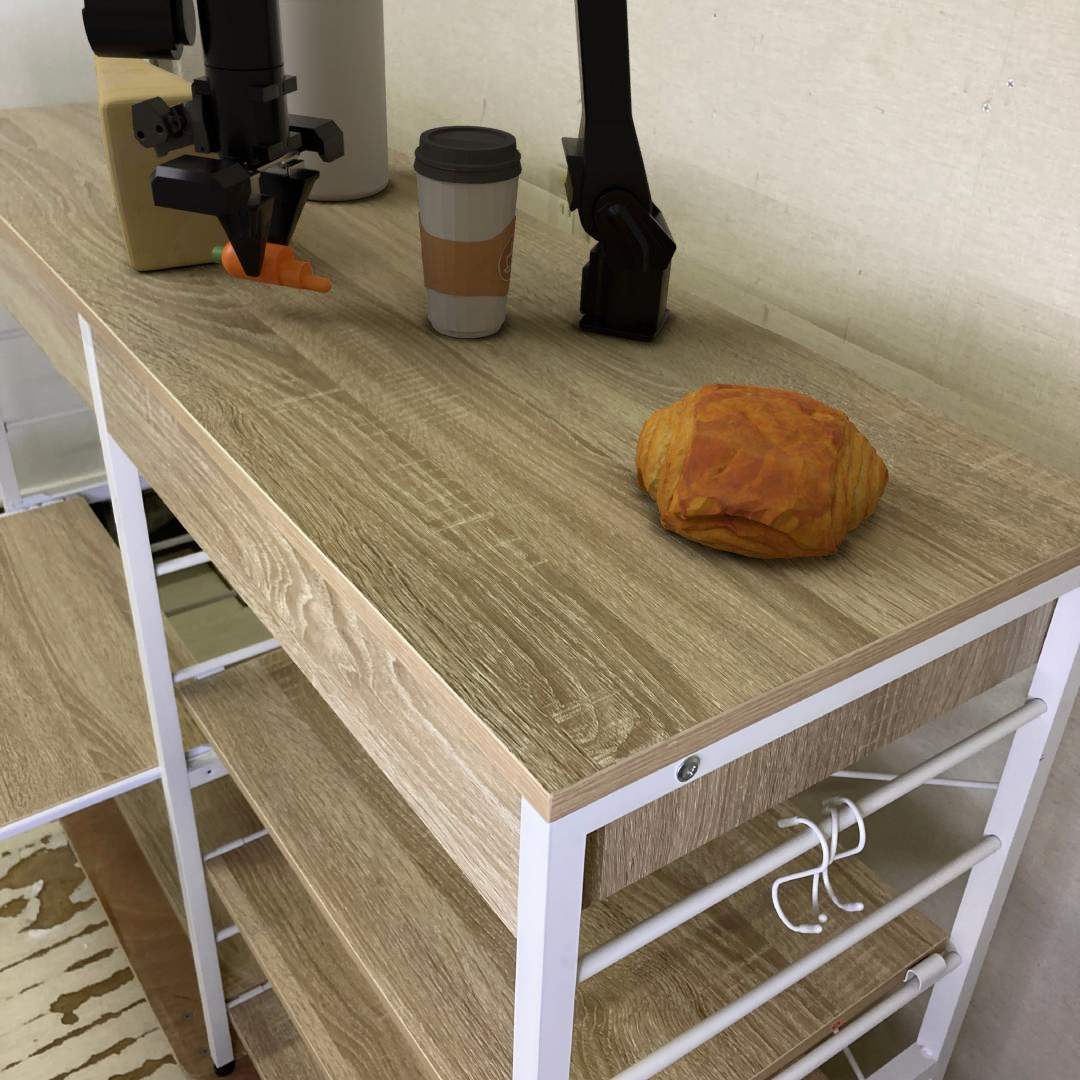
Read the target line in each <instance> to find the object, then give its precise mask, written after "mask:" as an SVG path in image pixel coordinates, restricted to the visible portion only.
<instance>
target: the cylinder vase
mask: <svg viewBox="0 0 1080 1080" xmlns="http://www.w3.org/2000/svg"><path fill="white" fill-rule="evenodd" d="M279 6H280V19H281V31H282V44H283V56H284V69H285V75H292V76H296V77H297V91H294V92H291V93H289V94H287V106H288V114H295V115H302V116H310V117H317V118H324V119H331V120H333V121H334V122H335V123H336V124H337V126H338V127H339V128H340V129H341V130H342V132H343V136H344V156H342V157H340V158H338V159H336V160H334V161H332V162H330V163H327V162H323V161H322V159H321V158H320V156H319V155H318V152H312V151H304V152H301V153H300V159H301V160H304V167H305V168H306V169H313V170H318V171H320V177H319V179H317V180H316V181H315V183H314V185H313V188H312V190H311V192H310V195H309V197H308V199H307V200H310V201H319V202H322V201H323V202H325V201H326V202H341V201H352V200H359V199H364V198H367V197H371V196H374V195H376V194H378V193H380V192H382V191H383V190H384V189H385V188H386V187H387V185H388V183H389V176H390V175H389V147H388V143H389V142H388V115H387V87H386V86H387V83H386V82H387V81H386V80H387V79H386V55H385V23H384V21H385V20H384V19H385V18H384V0H279Z"/></svg>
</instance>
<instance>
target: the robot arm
mask: <svg viewBox="0 0 1080 1080" xmlns="http://www.w3.org/2000/svg"><path fill="white" fill-rule="evenodd" d="M195 1H196V8H197V9H195V3H194V0H83V8H81V17H82V22H83V27H84V32H85V36H86V39H87V42H88V44H89V46H90V49H91V50H92V52H93V55H94V54H95V55H96V56H98V57H106V58H131V59H142V60H161V61H180V60H181V58H182V56H183V53H184V49H185V46H186V47H193V46H194V44H195V43H196V36H197V17H198V25H199V27H198V28H199V34H200V35H199V36H200V43H201V51H202V59H203V68H204V75H202V76H198V77H195V78H193V81H192V82H191V83H192V85H191V91H192V99H191V100H188V101H185V102H182V103H179V104H176V105H172V106H168V105H167V104H166V103H165V101H164V100H163V99H162V98H161V97H159V96H157V97H154V98H151V99H148V100H145V101H142V102H139V103H136V104H133V105H131V111H132V126H133V130H134V136H135V138H136V140H137V141H138V142H139V143H140V145H142V146H143V147H145V148H151V147H153V149H154V151H155V154H156V156H157V157H158V158H159V157H163V156H166V155H168V152H170V151H173V150H176V149H181V148H183V147H186V146H190V145H193V144H194V147H195V152H198V153H205V154H210V153H218V158H220V159H214V158H207V157H201V156H194V155H188V154H185V155H182V156H180V157H177V158H175V159H172V160H170V161H167V162H165V163H163V164H160V165H158V166H157V167H156V168H155V169H154V171H153V172H152V173H151V174H150V176H149V182H150V189H151V195H152V202H153V204H154V206H159V207H165V208H171V209H177V210H183V211H188V212H194V213H200V214H206V215H212V216H216V217H217V218H218V220H219V222H220V223H221V225H222V227H223V229H224V230H225V232H226V234H227V237H228V238H229V241H230V243H231V245H232V247H233V249H234V251H235V253H236V255H237V257H238V259H239V262H240V264H241V266H242V268H243V270H244V272H245V274H246V275H247V276H251V277H258V276H260V273H261V269H262V265H263V261H264V255H265V249H266V244H267V243H273V244H278V245H284V246H289V247H290V244H291V240H292V239H293V235H294V233H295V230H296V227H297V225H298V223H299V220H300V218H301V215H302V213H303V210H304V208H305V206H306V203H307V201H308V200H309V199H308V197H309V195H310V192H311V190H312V188H313V185H314V183H315V181H316V180H317V179H319V177H320V171H318V170H313V169H306V168H305V167H304V160H301V159H300V153H301V152H304V151H312V152H318V155H319V156H320V158H321V159H322V161H323V162H327V163H330V162H332V161H334V160H336V159H338V158H340V157H342V156H344V136H343V132H342V130H341V129H340V128H339V127H338V126H337V124H336V123H335V122H334V121H333V120H331V119H324V118H317V117H310V116H302V115H295V114H288V106H287V94H289V93H291V92H294V91H297V77H296V76H292V75H285V69H284V56H283V44H282V31H281V19H280V6H279V0H195ZM573 1H574V2H573V3H574V16H575V17H574V19H575V32H576V46H577V47H576V48H577V59H578V60H577V61H578V73H579V85H580V86H579V89H580V99H581V100H580V103H581V104H580V105H581V113H580V114H581V115H580V122H579V127H578V134H577V137H570V136H569V137H568V136H562V137H561V138H560V139H561V145H562V149H563V153H564V158H565V160H566V161H565V162H566V165H567V168H566V169H567V171H566V178H565V180H564V183H563V186H564V190H565V195H566V200H567V205H568V210H569V212H571V213H572V212H575V211H577V213H578V217H579V222H580V225H581V227H582V230H583V231H584V232H585V233H586V234H587V235H588V236H589V237H590V238H592V239H593V240H595V241H597V243H596V244H595V245H594V246H593V247H591V249H590V250H589V259H588V261H587V262H586V263H585V264H584V265H583V266H582V268H581V281H580V293H579V313H580V315H582V317H581V318H580V319H579V320H578V325H577V327H578V328H579V329H581V330H585V331H592V332H597V333H603V334H606V335H607V334H608V335H612V336H613V335H614V336H619V337H625V338H629V339H636V340H640V341H647V342H652V341H654V340H655V339H656V337H657V336H658V334H659V333H660V331H661V330H662V329H663V327H664V325H665V324H666V323H667V320H668V319H669V318H670V316H671V309H669V308H668V307H667V306H668V305H667V304H668V296H669V286H670V279H671V278H670V276H671V270H672V262H673V261H672V260H673V257H674V255H675V253H676V251H677V248H678V247H677V244H676V241H675V239H674V236H673V234H672V232H671V230H670V228H669V224H668V222H667V221H666V218H665V216H664V214H663V212H662V210H661V209H660V207H658V206H657V204H656V203H655V202H654V201H653V198H652V194H651V190H650V185H649V179H648V176H647V170H646V167H645V166H646V165H645V162H644V158H643V155H642V154H643V153H642V150H641V145H640V141H639V138H638V134H637V131H636V127H635V126H636V125H635V122H634V118H633V104H632V82H631V60H630V59H631V58H630V40H629V39H630V38H629V18H628V0H573ZM196 10H197V17H196Z"/></svg>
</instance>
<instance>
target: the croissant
mask: <svg viewBox="0 0 1080 1080" xmlns="http://www.w3.org/2000/svg"><path fill="white" fill-rule="evenodd" d="M635 452H636V453H635V459H634V463H635V467H636V481H637V484H638V486H639V488H640V489H641V490H642V491H644V492H647V493H648V495H649V496H650V497H651V499H652V500H653V501H654V502H655V503H656V506H657V508H658V512H659V515H660V518H659V519H660V525H661V526H662V527H663V528H664V529H665V530H667V531H671V532H673V533H675V534H677V535H679V536H681V537H683V538H685V539H686V540H690V541H691V542H693V543H699V544H700V545H702V546H705V547H708V548H713V549H714V550H718V551H723V552H728V553H729V552H730V553H733V554H738V555H741V556H745V557H749V558H757V559H764V560H771V559H777V558H778V559H794V558H797V557H798V558H799V557H800V558H801V557H826V556H831V555H833V554H837V553H838V550H839V549H840V548H841V545H842V543H843V541H844V540H845V537H846V535H847V534H846V533H849V532H852V531H853V530H855V529H857V528H858V527H859V526H860V525H861V524H862V522H865V521H866V519H867V518H869V517H870V516H872V515H873V514H874V512H875V510H876V509H875V508H876V507H877V505H878V503H879V500H880V499H881V498H882V497H883V496H884V494H885V491H886V488H887V486H888V483H889V479H890V478H889V477H890V474H889V469H888V466H887V465H886V464H885V462H884V459H883V458H882V457H881V456H880V455H879V454H878V453H877V449H876V447H874V446H873V445H872V444H871V443H870V441H869V439H868V438H867V436H866V435H865V434H864V433H861V432H860V430H859V429H858V428H857V425H855V424H854V422H853V421H851V420H850V417H849V416H848V415H847V414H846V412H845V411H842V410H841V409H837V408H835V407H831V406H829V405H828V404H826V403H824V402H822V401H820V400H818V399H816V398H814V397H812V396H809V395H807V394H806V393H801V392H798V391H794V390H789V389H782V388H768V387H764V386H758V385H757V386H756V385H751V384H733V383H710V384H704V385H702V387H701V388H699V389H697V390H694V391H691V392H689V393H687V394H685V395H684V396H683V397H682V398H680V399H679V400H677V401H674V402H672V404H671V405H670V406H664V407H661V408H659V410H658V411H657V412H654V413H651V414H650V415H649V417H648V418H647V419H646V420H645V421H644V423H643V424H642V427H641V430H640V433H639V436H638V439H637V443H636V451H635Z"/></svg>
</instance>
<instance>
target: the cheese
mask: <svg viewBox="0 0 1080 1080" xmlns="http://www.w3.org/2000/svg"><path fill="white" fill-rule="evenodd" d="M93 59H94V60H93V61H94V63H93V64H94V70H95V77H96V91H97V93H96V94H97V104H98V105H97V106H98V111H99V113H98V114H99V122H100V130H101V137H102V144H103V145H102V146H103V151H104V155H105V156H104V157H105V162H106V167H107V170H108V175H109V180H110V183H111V189H112V194H113V199H114V203H115V208H116V212H117V216H118V222H119V225H120V230H121V234H122V239H123V242H124V243H123V244H124V246H125V252H126V256H127V260H128V264H129V266H130V268H131V269H132V270H135V271H139V272H140V271H141V272H144V271H156V270H164V269H171V268H178V267H188V266H195V265H202V264H203V265H204V264H209V263H215V262H214V261H213V259H212V251H213V248H214V247H215V246H223V247H225V246H226V245H227V244H228V243H229V242H230V241H229V238H228V237H227V234H226V232H225V230H224V229H223V227H222V225H221V223H220V222H219V220H218V218H217V217H216V216H212V215H206V214H200V213H194V212H188V211H183V210H177V209H171V208H165V207H159V206H154V204H153V202H152V195H151V189H150V182H149V176H150V174H151V173H152V172H153V171H154V169H155V168H156V167H157V166H158V165H160V164H163V163H165V162H167V161H170V160H172V159H175V158H177V157H180V156H182V155H185V154H188V155H194V156H201V157H207V158H214V159H220V158H218V153H210V154H205V153H198V152H195V147H194V144H193V145H190V146H186V147H183V148H181V149H176V150H173V151H170V152H168V155H166V156H163V157H159V158H158V157H157V156H156V154H155V151H154V149H153V147H151V148H145V147H143V146H142V145H140V143H139V142H138V141H137V140H136V138H135V136H134V130H133V126H132V111H131V105H133V104H136V103H139V102H142V101H145V100H148V99H151V98H154V97H157V96H159V97H161V98H162V99H163V100H164V101H165V103H166V104H167V105H168V106H172V105H176V104H179V103H182V102H185V101H188V100H191V99H192V91H191V85H192V83H193V82H190V81H188V80H187V79H185V78H182V77H180V76H179V75H177V74H175V73H173V72H170V71H168V70H165V69H164V68H161V67H159V66H157V65H155V64H152V63H150V62H148V61H147V60H145V59H131V58H106V57H98V56H96V55H95V54H94V53H93Z"/></svg>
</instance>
